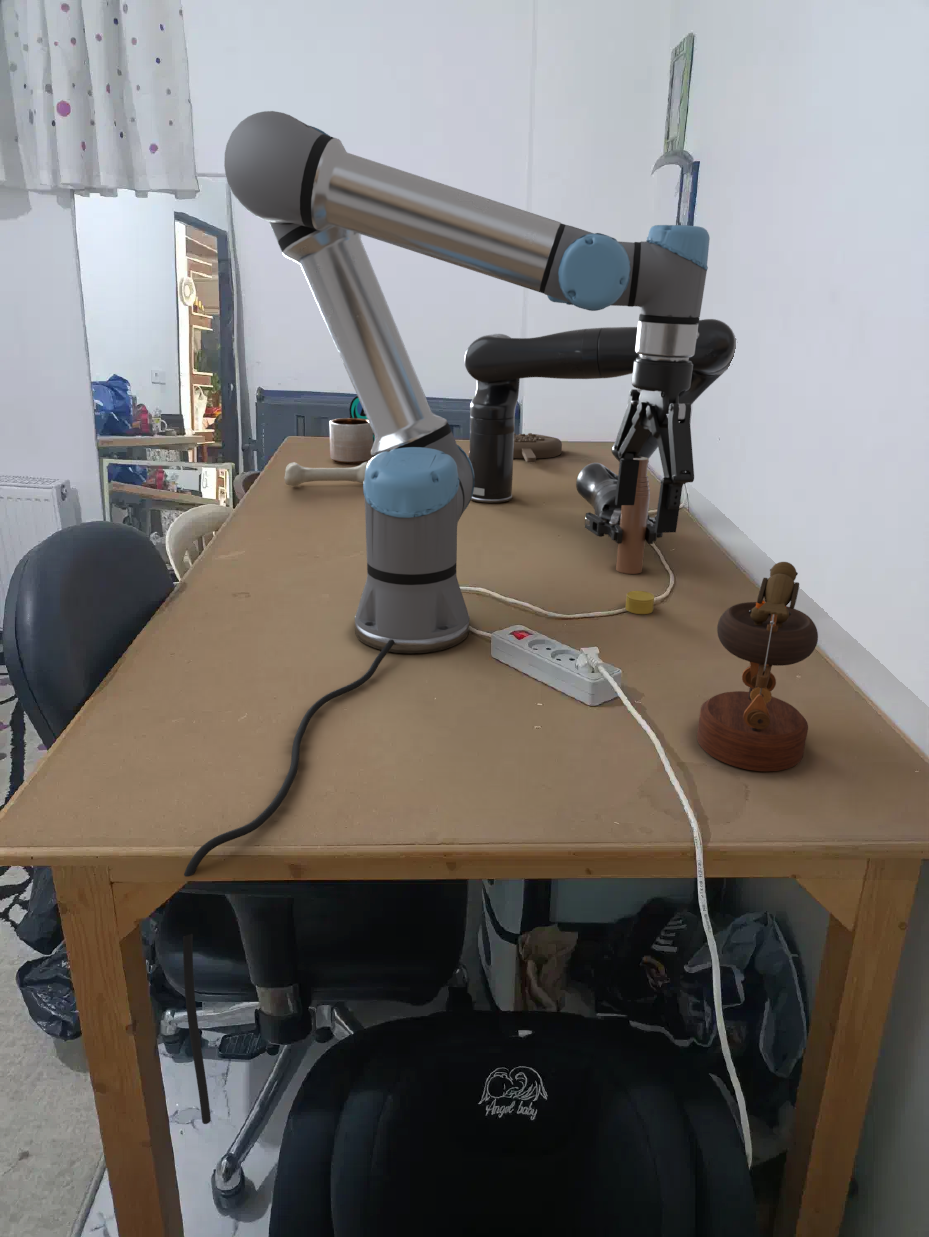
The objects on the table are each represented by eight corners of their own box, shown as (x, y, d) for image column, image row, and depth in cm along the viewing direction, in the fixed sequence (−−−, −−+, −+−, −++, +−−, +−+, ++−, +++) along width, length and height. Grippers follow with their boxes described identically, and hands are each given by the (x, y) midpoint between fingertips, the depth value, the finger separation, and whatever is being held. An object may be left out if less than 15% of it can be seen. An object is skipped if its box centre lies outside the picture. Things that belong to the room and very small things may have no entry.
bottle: (613, 572, 137) (623, 459, 130) (618, 564, 141) (628, 454, 134) (639, 575, 136) (651, 462, 129) (644, 567, 139) (655, 456, 132)
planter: (327, 456, 217) (325, 418, 214) (369, 454, 220) (368, 417, 217) (334, 465, 208) (332, 425, 204) (377, 463, 211) (376, 424, 207)
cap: (641, 616, 119) (643, 602, 119) (619, 608, 122) (621, 594, 121) (658, 609, 122) (659, 596, 121) (636, 602, 124) (637, 588, 124)
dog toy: (375, 480, 193) (375, 458, 191) (377, 486, 187) (376, 464, 186) (285, 482, 190) (284, 460, 188) (284, 489, 184) (283, 466, 182)
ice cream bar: (489, 468, 207) (489, 450, 206) (481, 446, 233) (482, 430, 232) (574, 468, 208) (575, 451, 207) (557, 446, 234) (558, 431, 233)
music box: (826, 784, 80) (847, 586, 73) (707, 784, 81) (715, 589, 74) (787, 708, 94) (802, 535, 87) (686, 708, 95) (692, 539, 88)
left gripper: (740, 369, 98) (712, 544, 106) (650, 349, 121) (632, 494, 129) (681, 368, 97) (657, 545, 105) (601, 347, 119) (586, 495, 127)
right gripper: (578, 488, 147) (592, 514, 132) (659, 489, 148) (683, 515, 132) (575, 529, 150) (589, 559, 134) (655, 530, 150) (678, 561, 135)
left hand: (643, 517), depth 117 cm, fingers open, 13 cm apart
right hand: (635, 537), depth 133 cm, fingers open, 4 cm apart
